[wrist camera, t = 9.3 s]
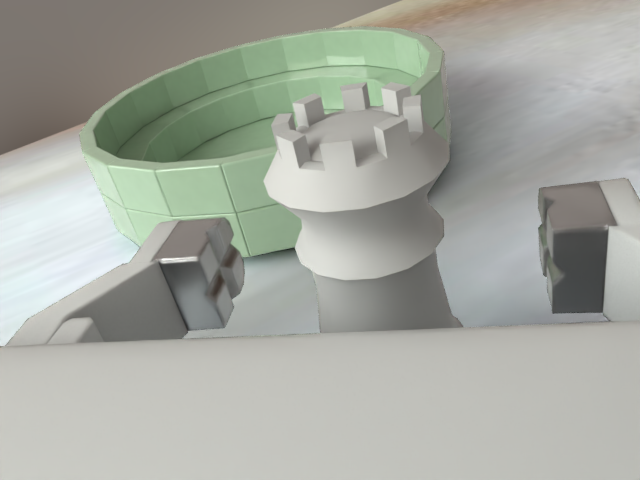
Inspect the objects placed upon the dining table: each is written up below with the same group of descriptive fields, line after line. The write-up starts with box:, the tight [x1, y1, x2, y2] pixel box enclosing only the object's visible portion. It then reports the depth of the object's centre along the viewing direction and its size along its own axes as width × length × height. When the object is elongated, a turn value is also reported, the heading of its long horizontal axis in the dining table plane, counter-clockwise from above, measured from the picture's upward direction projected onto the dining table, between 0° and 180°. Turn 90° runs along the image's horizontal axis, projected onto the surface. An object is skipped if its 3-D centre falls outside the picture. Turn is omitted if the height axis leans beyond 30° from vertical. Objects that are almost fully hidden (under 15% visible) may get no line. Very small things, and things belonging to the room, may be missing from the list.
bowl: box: [79, 26, 451, 257], centre depth 26 cm, size 15×15×4 cm
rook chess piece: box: [264, 82, 463, 333], centre depth 12 cm, size 4×4×8 cm
